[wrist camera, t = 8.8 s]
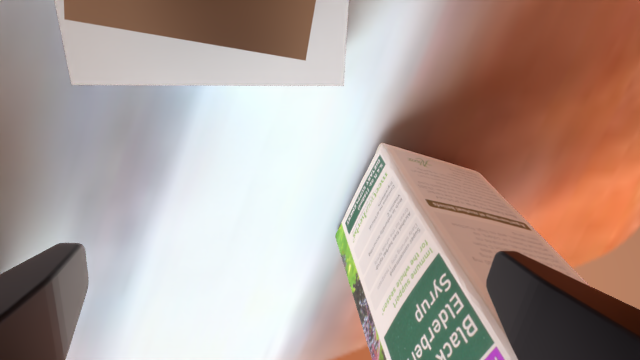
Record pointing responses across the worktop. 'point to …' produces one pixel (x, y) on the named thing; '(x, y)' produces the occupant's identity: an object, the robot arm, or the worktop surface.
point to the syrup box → (431, 258)
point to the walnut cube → (208, 21)
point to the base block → (202, 56)
